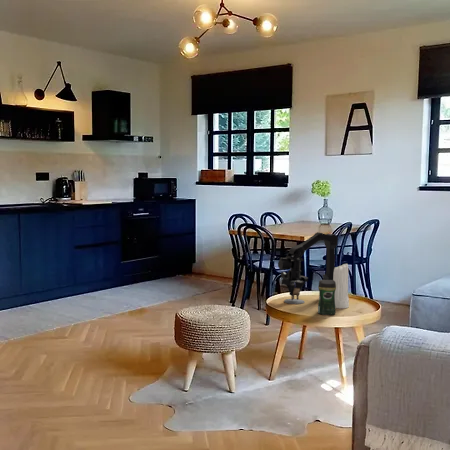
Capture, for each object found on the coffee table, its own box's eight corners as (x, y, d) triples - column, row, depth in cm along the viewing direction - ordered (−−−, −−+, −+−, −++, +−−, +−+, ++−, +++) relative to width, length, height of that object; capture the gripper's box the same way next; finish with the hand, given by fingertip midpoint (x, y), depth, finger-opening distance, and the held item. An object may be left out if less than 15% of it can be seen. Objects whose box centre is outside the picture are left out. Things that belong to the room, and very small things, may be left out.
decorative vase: (327, 306, 319) (328, 263, 317) (332, 303, 329) (334, 261, 326) (345, 309, 314) (347, 265, 312) (350, 305, 324) (352, 263, 321)
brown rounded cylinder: (301, 299, 330) (301, 288, 330) (295, 300, 326) (295, 290, 326) (293, 297, 335) (293, 287, 334) (287, 299, 330) (287, 288, 330)
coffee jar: (334, 312, 307) (335, 278, 306) (336, 315, 300) (337, 281, 298) (316, 311, 308) (317, 278, 306) (318, 315, 300) (319, 281, 299)
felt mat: (308, 302, 331) (308, 301, 331) (296, 305, 322) (296, 304, 322) (292, 298, 339) (292, 297, 339) (280, 301, 331) (280, 300, 330)
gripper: (294, 265, 341) (293, 290, 342) (274, 268, 328) (274, 294, 329) (309, 267, 333) (308, 293, 335) (289, 271, 320) (288, 297, 321)
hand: (294, 294), depth 330 cm, fingers closed on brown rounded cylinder, 6 cm apart
